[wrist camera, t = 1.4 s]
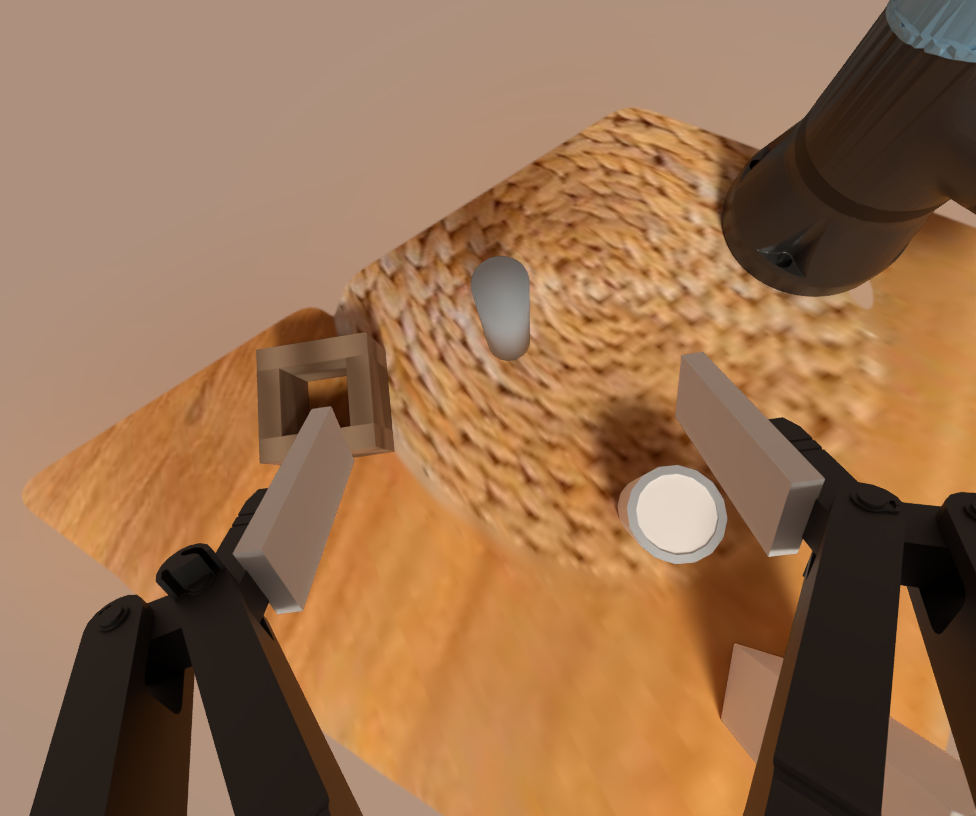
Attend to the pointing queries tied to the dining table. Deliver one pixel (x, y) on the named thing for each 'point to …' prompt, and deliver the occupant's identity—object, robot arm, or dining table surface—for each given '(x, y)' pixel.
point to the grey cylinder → (503, 305)
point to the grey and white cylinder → (674, 514)
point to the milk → (909, 758)
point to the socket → (299, 363)
